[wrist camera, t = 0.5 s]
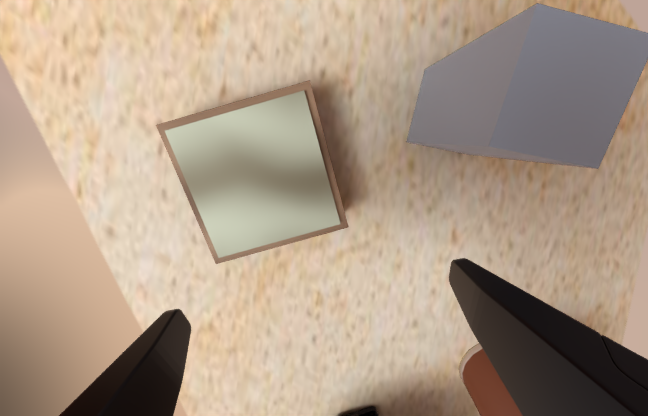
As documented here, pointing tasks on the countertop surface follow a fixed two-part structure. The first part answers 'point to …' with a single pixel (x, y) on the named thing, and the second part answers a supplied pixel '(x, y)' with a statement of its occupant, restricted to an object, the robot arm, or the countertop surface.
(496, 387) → the coffee cup
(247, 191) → the walnut base block
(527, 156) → the slate brick
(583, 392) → the robot arm
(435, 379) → the countertop surface
